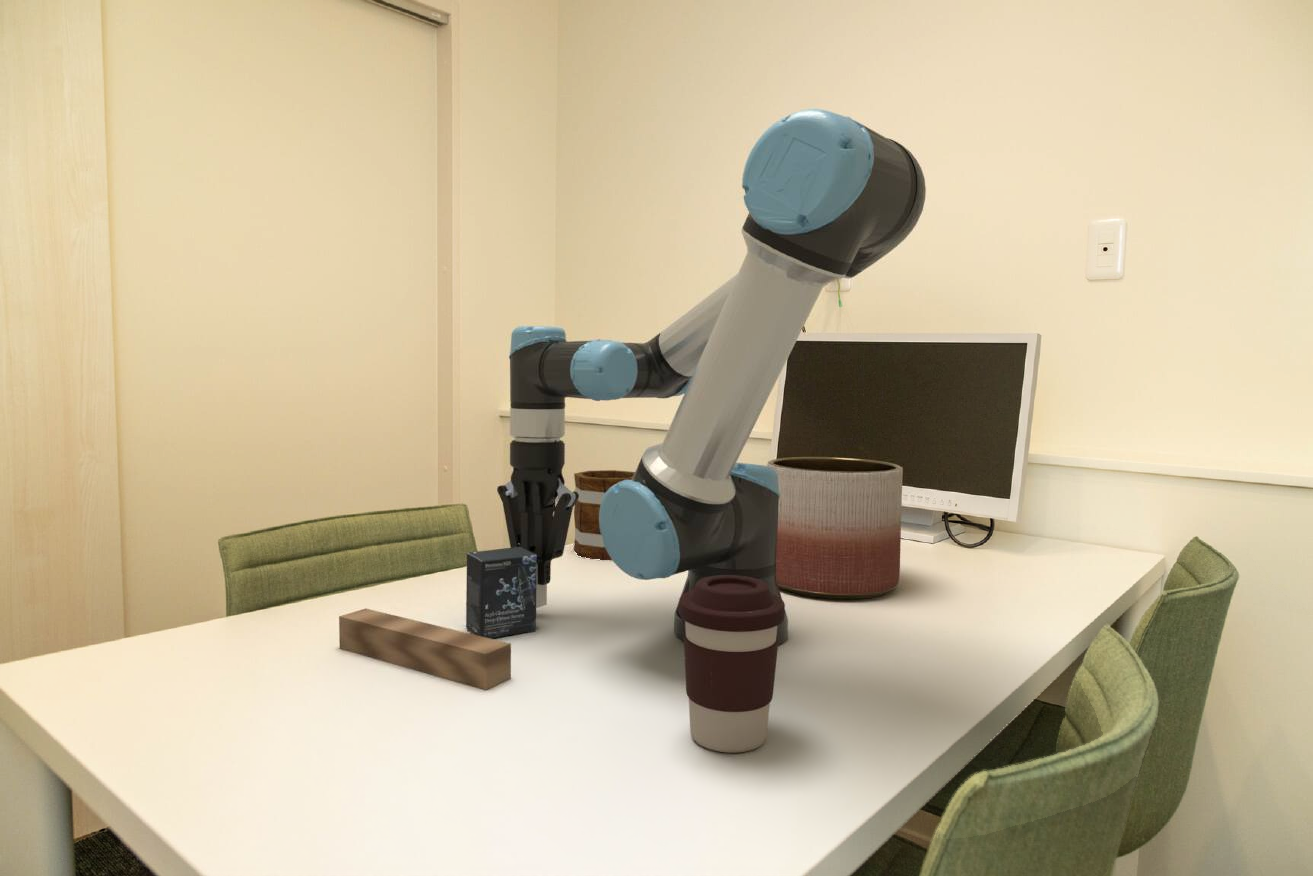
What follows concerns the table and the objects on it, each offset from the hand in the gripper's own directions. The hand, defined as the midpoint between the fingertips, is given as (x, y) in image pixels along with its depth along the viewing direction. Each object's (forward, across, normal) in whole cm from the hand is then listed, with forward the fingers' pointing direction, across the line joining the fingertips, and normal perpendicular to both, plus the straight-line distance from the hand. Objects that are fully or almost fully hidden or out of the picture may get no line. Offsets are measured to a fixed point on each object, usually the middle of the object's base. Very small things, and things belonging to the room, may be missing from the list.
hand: (536, 605), depth 113 cm
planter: (+2, -29, -41) cm, 50 cm away
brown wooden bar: (+2, 0, +22) cm, 22 cm away
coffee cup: (+2, -39, +19) cm, 44 cm away
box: (+2, 0, +8) cm, 8 cm away
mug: (+2, +11, -37) cm, 39 cm away
